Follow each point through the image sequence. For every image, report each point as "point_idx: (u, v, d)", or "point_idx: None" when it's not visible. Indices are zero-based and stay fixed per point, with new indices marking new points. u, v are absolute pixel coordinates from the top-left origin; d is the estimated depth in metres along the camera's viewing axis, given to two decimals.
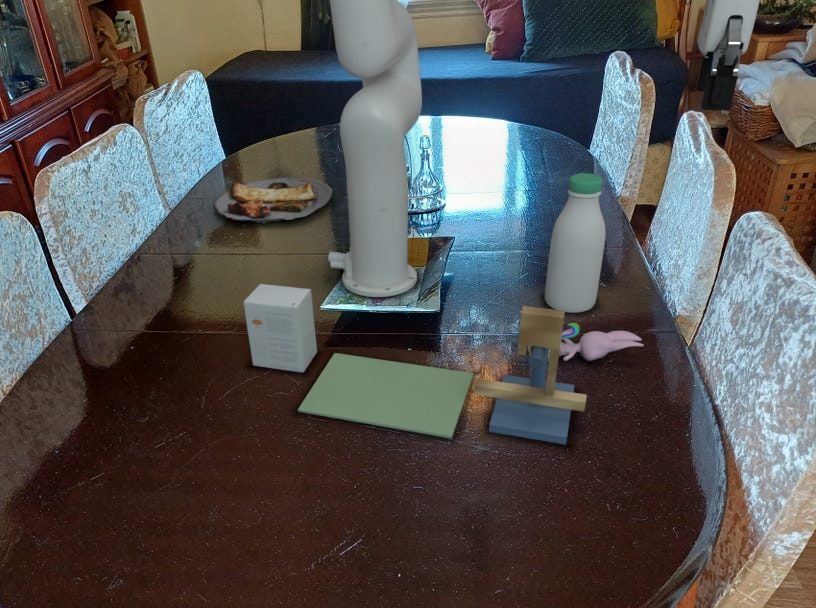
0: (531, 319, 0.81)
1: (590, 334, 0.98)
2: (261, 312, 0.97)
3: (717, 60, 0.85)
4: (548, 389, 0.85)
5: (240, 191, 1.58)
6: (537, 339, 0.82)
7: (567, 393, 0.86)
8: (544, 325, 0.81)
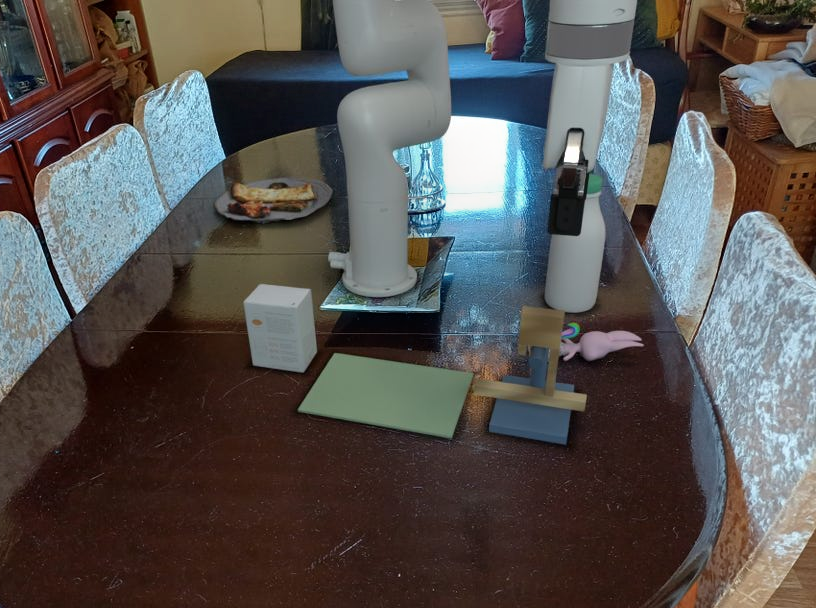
0: (531, 319, 0.81)
1: (590, 334, 0.98)
2: (261, 312, 0.97)
3: None
4: (548, 389, 0.85)
5: (240, 191, 1.58)
6: (537, 339, 0.82)
7: (567, 393, 0.86)
8: (544, 325, 0.81)
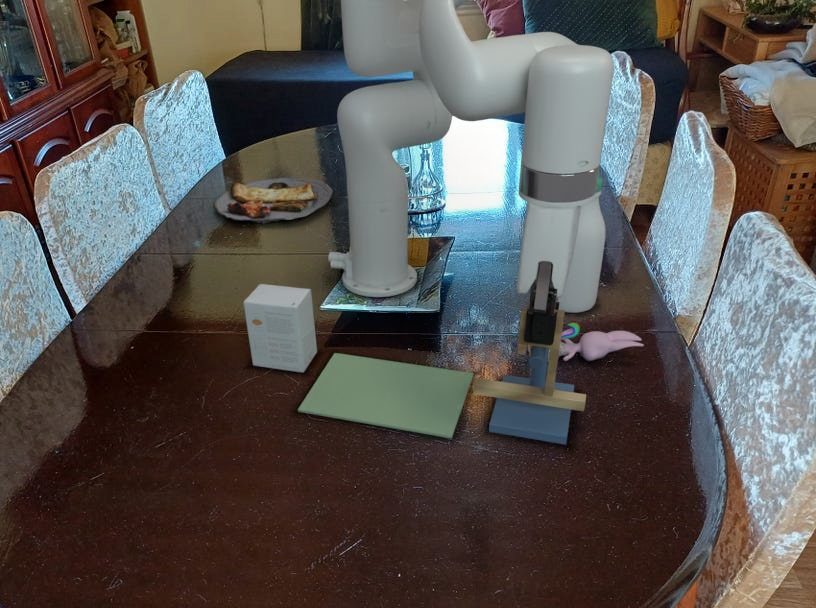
0: None
1: (590, 334, 0.98)
2: (261, 312, 0.97)
3: None
4: (548, 389, 0.85)
5: (240, 191, 1.58)
6: None
7: (567, 393, 0.86)
8: None
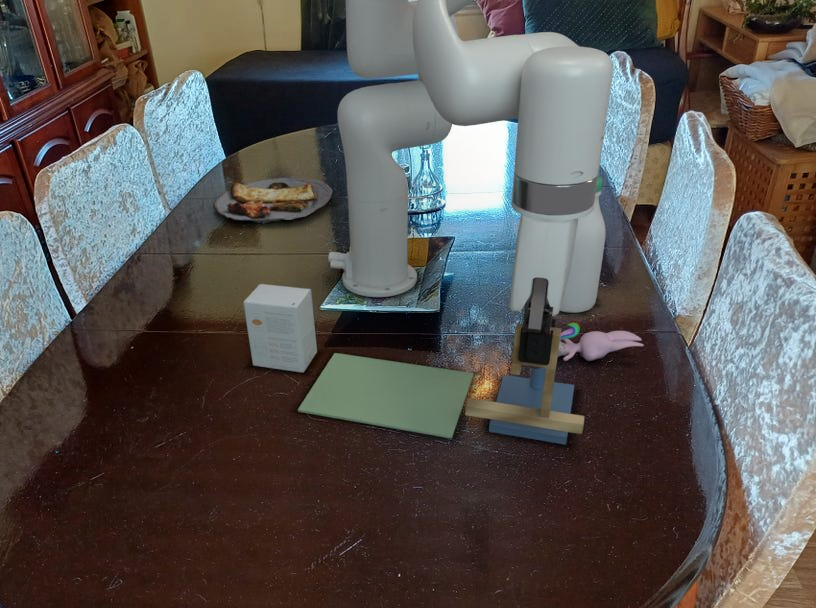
0: None
1: (590, 334, 0.98)
2: (261, 312, 0.97)
3: None
4: (544, 411, 0.80)
5: (240, 191, 1.58)
6: None
7: (564, 414, 0.81)
8: None
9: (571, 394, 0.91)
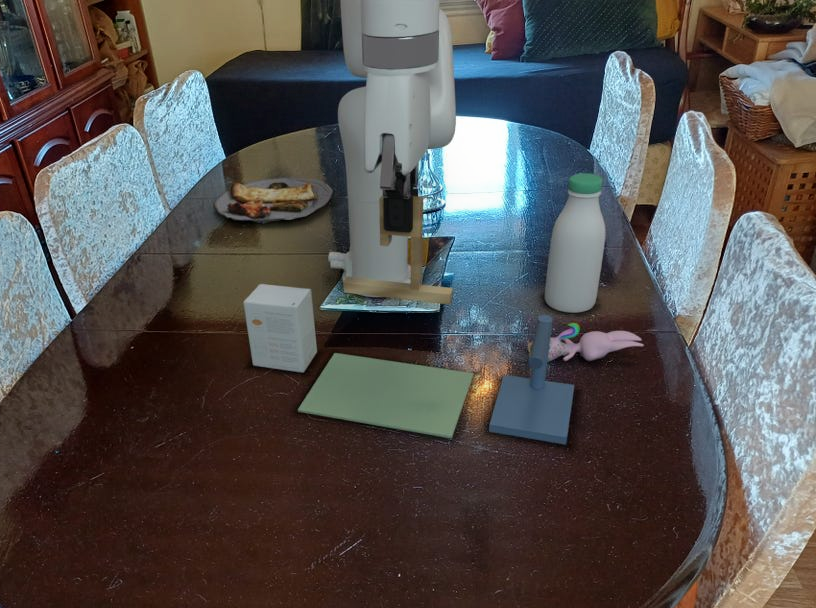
0: None
1: (590, 334, 0.98)
2: (261, 312, 0.97)
3: None
4: (413, 282, 0.84)
5: (240, 191, 1.58)
6: None
7: (434, 287, 0.85)
8: None
9: (571, 394, 0.91)
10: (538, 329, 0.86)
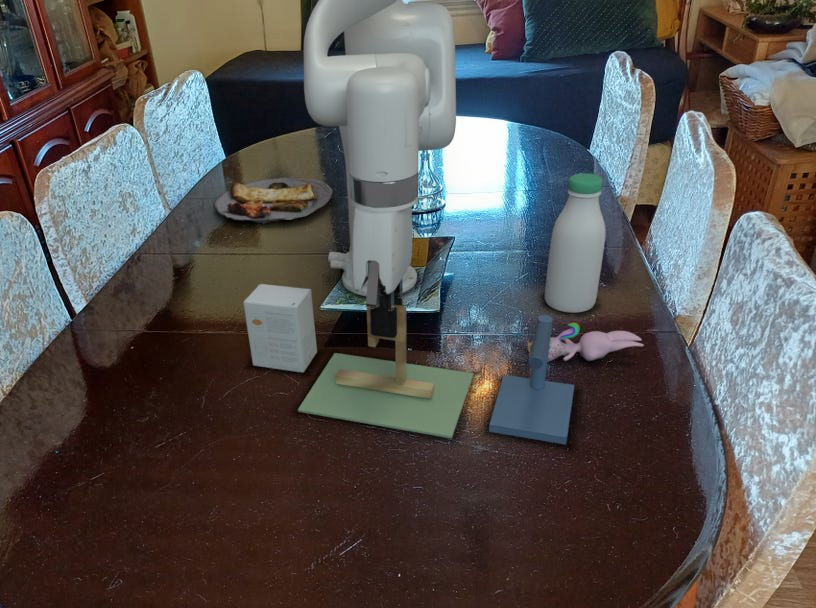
0: None
1: (590, 334, 0.98)
2: (261, 312, 0.97)
3: None
4: (398, 379, 0.93)
5: (240, 191, 1.58)
6: None
7: (417, 382, 0.94)
8: None
9: (571, 394, 0.91)
10: (538, 329, 0.86)
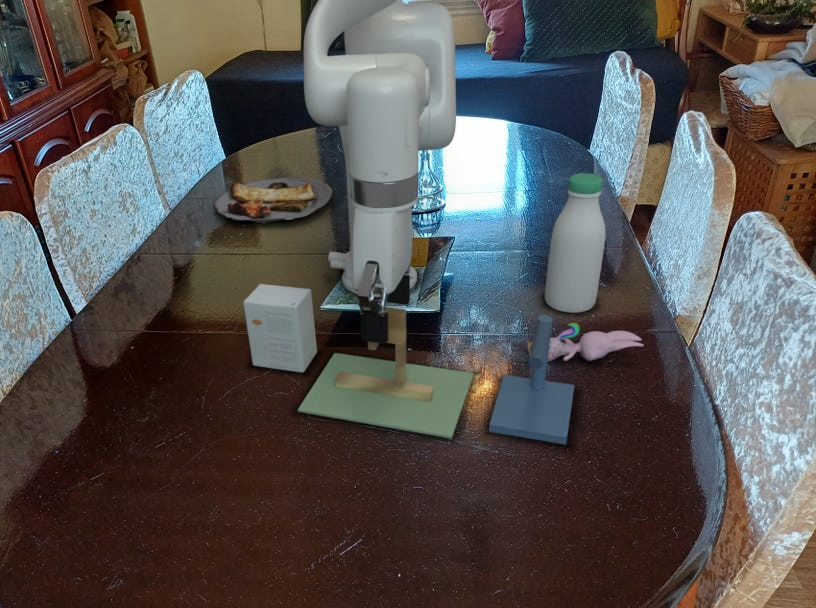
0: None
1: (590, 334, 0.98)
2: (261, 312, 0.97)
3: None
4: (398, 381, 0.93)
5: (240, 191, 1.58)
6: None
7: (417, 385, 0.94)
8: None
9: (571, 394, 0.91)
10: (538, 329, 0.86)
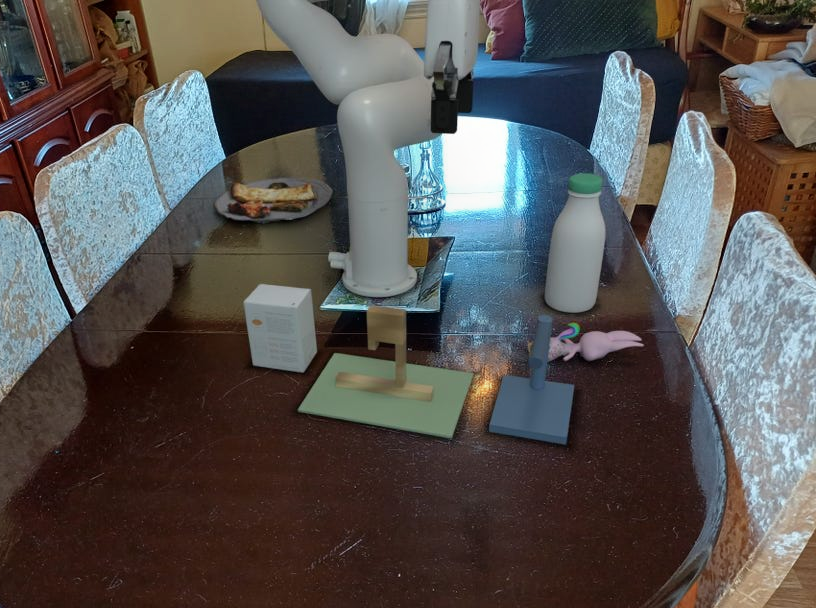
0: (376, 317, 0.89)
1: (590, 334, 0.98)
2: (261, 312, 0.97)
3: None
4: (398, 381, 0.93)
5: (240, 191, 1.58)
6: (383, 335, 0.90)
7: (417, 385, 0.94)
8: (387, 322, 0.89)
9: (571, 394, 0.91)
10: (538, 329, 0.86)
